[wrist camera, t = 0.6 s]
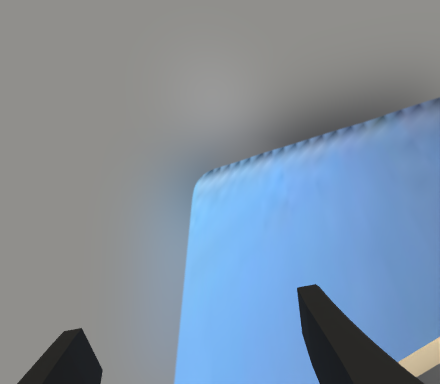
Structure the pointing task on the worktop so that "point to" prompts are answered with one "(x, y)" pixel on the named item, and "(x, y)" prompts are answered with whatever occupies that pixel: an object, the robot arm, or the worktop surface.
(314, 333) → the robot arm
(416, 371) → the body
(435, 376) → the grey notched block
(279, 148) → the worktop surface
